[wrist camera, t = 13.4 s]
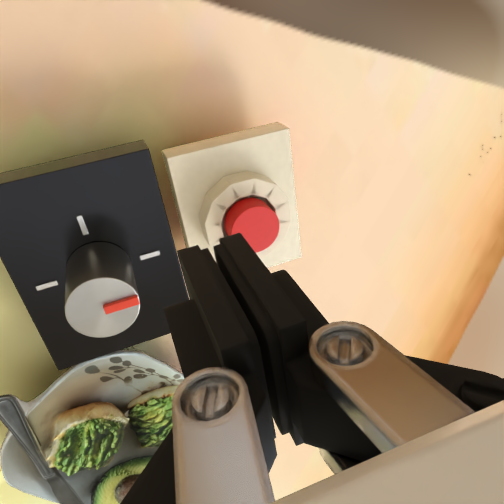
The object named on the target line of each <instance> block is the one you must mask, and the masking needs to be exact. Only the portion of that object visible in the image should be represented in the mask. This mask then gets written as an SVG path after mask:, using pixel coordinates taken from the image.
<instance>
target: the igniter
mask: <svg viewBox="0 0 504 504" xmlns="http://www.w3.org/2000/svg"><path fill="white" fill-rule="evenodd" d="M162 154H163V158H164V162H165V166H166V170H167V174H168V178H169V182H170V186H171V190H172V194H173V198H174V202H175V206H176V210H177V213H178V217H179V221H180V225H181V229H182V233H183V237H184V241H185V245H186V248H189V247H192V246H196V245H198V246H199V247H200V249H201V250H202V249H205V248H208V249H209V251H210V253H211V254H212V256H213V258H214V260H215V262H216V259H215V254H214V248H213V246H215V245H218V244H220V242H219V239H220V238H223V237H226V236H228V234H227V233H226V230H225V225H224V223H225V217H226V214H227V212H228V210H229V209H230V208H231V207H232V205H234V204H235V203H236V202H238V201H239V200H242V199H245V198H257V199H260V200H262V201H263V202H265V203H266V204H267V205H268V206H269V207H270V208H271V209H272V210H273V211H274V212H275V213H276V215H277V217H278V219H279V233H278V235H277V238H276V239H275V241H274V242H273V243H272V244H271V245H270V246H269V247H268V248H266V249H265V250H263V251H260V252H257V253H256V254H257V255H258V257H259V258H260V259H261V261H262V262H263V263H264V265H265V266H266V267H267V268H269V267H272V266H275V265H278V264H281V263H285V262H288V261H291V260H294V259H297V258H300V257H302V255H301V245H300V235H299V225H298V214H297V204H296V194H295V184H294V174H293V163H292V153H291V143H290V133H289V128H288V127H286V126H284V125H282V124H280V123H279V122H275V123H271V124H267V125H263V126H259V127H255V128H250V129H246V130H242V131H238V132H234V133H230V134H226V135H221V136H217V137H213V138H209V139H205V140H201V141H197V142H193V143H188V144H184V145H180V146H176V147H172V148H168V149H164V150H162Z"/></svg>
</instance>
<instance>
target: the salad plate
mask: <svg viewBox="0 0 504 504" xmlns="http://www.w3.org/2000/svg"><path fill="white" fill-rule="evenodd" d="M183 380H184V376H183V374H182V373H180V372H179V371H177V370H175V369H174V368H172V367H171V366H170V365H168V364H166V363H164V362H162V361H159V360H157V359H155V358H152V357H150V356H148V355H147V354H145V353H143V352H140V351H132V350H118V351H115V352H112V353H109V354H106V355H103V356H100V357H97V358H94V359H92V360H89V361H86V362H83V363H80V364H77V365H74V366H72V367H71V368H69V369H68V370H67V371H66V372H64V373H63V374H62V375H61V376H60V377H59V378H57V379H56V380H55V381H54V382H53V383H52V384H51V385H50V386H49V387H48V388H47V389H46V390H45V391H44V392H42V393H41V394H40V395H39V396H38V397H36V398H34V399H33V400H31V401H28V402H24V401H22V400H19V399H18V398H17V397H16V396H14V395H11V394H8V395H2V396H0V420H1V421H2V422H3V423H4V425H5V426H6V427H7V428H8V432H7V434H6V438H5V439H4V441H3V444H2V447H1V449H0V450H1V451H0V457H1V468H2V473H3V476H4V478H5V480H6V482H7V483H8V484H9V485H10V486H12V487H15V488H17V489H18V490H20V491H23V492H25V493H28V494H31V495H34V496H37V497H40V498H43V499H46V500H49V501H52V502H56V503H60V504H120V503H121V502H122V500H123V499H124V497H125V496H126V494H127V493H128V492H129V490H130V489H131V487H132V486H133V484H134V483H135V481H136V480H137V478H138V477H139V475H140V474H141V473H142V471H143V470H144V468H145V467H146V465H147V464H148V462H149V461H150V459H151V458H152V457H153V455H154V454H155V452H156V451H157V449H158V448H159V446H160V445H161V443H162V442H163V440H164V439H165V438H166V436H167V435H168V433H169V432H170V430H171V429H172V427H173V426H172V399H173V394H174V393H175V391H176V389H177V387H178V385H179V384H180V383H181V382H182V381H183Z"/></svg>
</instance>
